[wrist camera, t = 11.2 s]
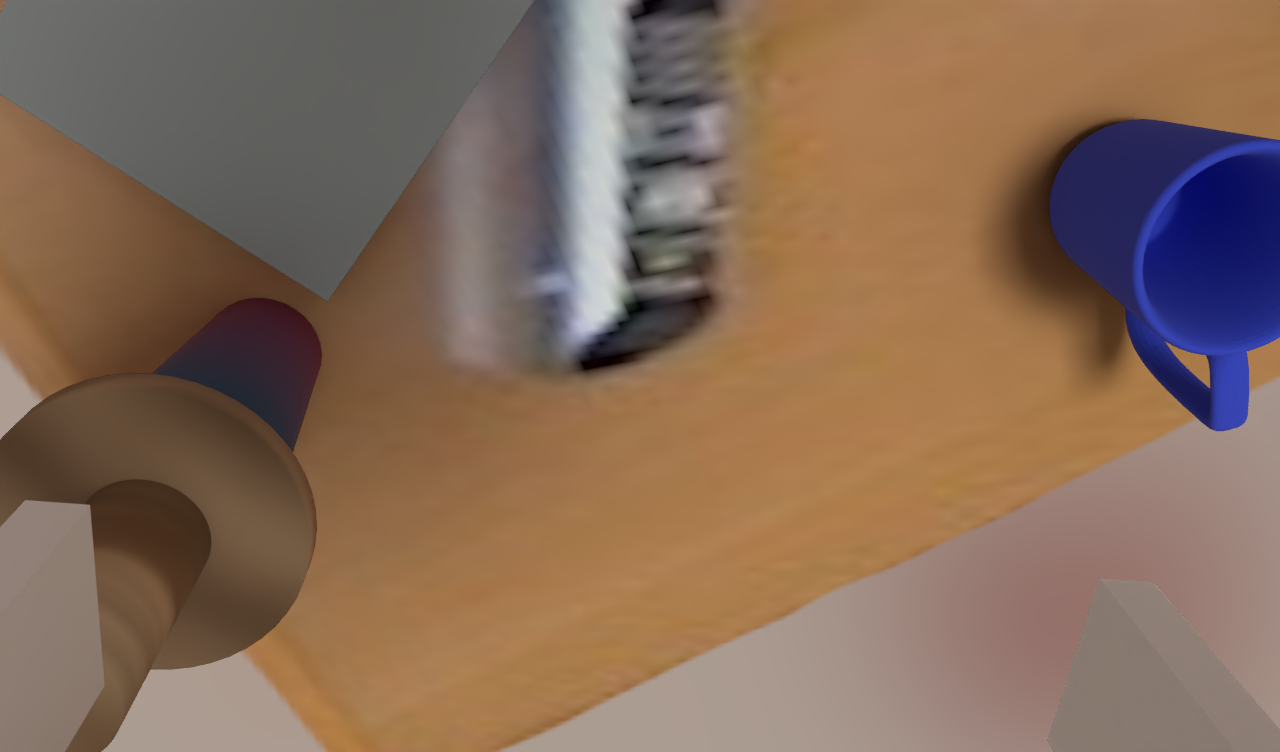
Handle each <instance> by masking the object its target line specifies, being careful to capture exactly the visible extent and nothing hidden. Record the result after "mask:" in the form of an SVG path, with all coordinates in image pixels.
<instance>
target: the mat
mask: <svg viewBox="0 0 1280 752" xmlns="http://www.w3.org/2000/svg"><path fill="white" fill-rule="evenodd" d="M533 1H534V0H7V2H6V4H5V5H4V7H3V9H2V11H1V13H0V95H2V96H4V97H5V98H7V99H8V100H10V101H11V102H13V103H15V104H16V105H18V106H19V107H21V108H23V109H24V110H26V111H27V112H29V113H30V114H32V115H34V116H35V117H37V118H38V119H40V120H41V121H43V122H45V123H46V124H48V125H49V126H51V127H53V128H54V129H56V130H57V131H59V132H60V133H62V134H64V135H65V136H67V137H68V138H70V139H71V140H73V141H75V142H76V143H78V144H79V145H81V146H83V147H84V148H86V149H87V150H89V151H90V152H92V153H94V154H95V155H97V156H98V157H100V158H101V159H103V160H105V161H106V162H108V163H109V164H111V165H113V166H114V167H116V168H117V169H119V170H120V171H122V172H124V173H125V174H127V175H128V176H130V177H131V178H133V179H135V180H136V181H138V182H139V183H141V184H143V185H144V186H146V187H147V188H149V189H150V190H152V191H154V192H155V193H157V194H158V195H160V196H161V197H163V198H165V199H166V200H168V201H169V202H171V203H173V204H174V205H176V206H177V207H179V208H180V209H182V210H184V211H185V212H187V213H188V214H190V215H192V216H193V217H195V218H196V219H198V220H199V221H201V222H203V223H204V224H206V225H207V226H209V227H210V228H212V229H214V230H215V231H217V232H218V233H220V234H222V235H223V236H225V237H226V238H228V239H229V240H231V241H233V242H234V243H236V244H237V245H239V246H240V247H242V248H244V249H245V250H247V251H248V252H250V253H252V254H253V255H255V256H256V257H258V258H259V259H261V260H263V261H264V262H266V263H267V264H269V265H270V266H272V267H274V268H275V269H277V270H278V271H280V272H282V273H283V274H285V275H286V276H288V277H289V278H291V279H293V280H294V281H296V282H297V283H299V284H300V285H302V286H304V287H305V288H307V289H308V290H310V291H312V292H313V293H315V294H316V295H318V296H319V297H321V298H323V299H324V300H326V301H327V302H328V300H329V299H330V297H331V296H332V294H333V293H334V291H335V290H336V289H337V287H338V286H339V284H340V283H341V281H342V280H343V278H344V277H345V275H346V274H347V272H348V271H349V270H350V268H351V267H352V265H353V264H354V262H355V261H356V259H357V258H358V256H359V255H360V254H361V252H362V251H363V249H364V248H365V246H366V245H367V243H368V242H369V240H370V239H371V237H372V236H373V235H374V233H375V232H376V230H377V229H378V227H379V226H380V224H381V223H382V221H383V220H384V219H385V217H386V216H387V214H388V213H389V211H390V210H391V208H392V207H393V205H394V204H395V203H396V201H397V200H398V198H399V197H400V195H401V194H402V192H403V191H404V189H405V188H406V186H407V185H408V184H409V182H410V181H411V179H412V178H413V176H414V175H415V173H416V172H417V170H418V169H419V168H420V166H421V165H422V163H423V162H424V160H425V159H426V157H427V156H428V154H429V153H430V151H431V150H432V149H433V147H434V146H435V144H436V143H437V141H438V140H439V138H440V137H441V135H442V134H443V133H444V131H445V130H446V128H447V127H448V125H449V124H450V122H451V121H452V119H453V118H454V117H455V115H456V114H457V112H458V111H459V109H460V108H461V106H462V105H463V103H464V102H465V100H466V99H467V98H468V96H469V95H470V93H471V92H472V90H473V89H474V87H475V86H476V84H477V83H478V82H479V80H480V79H481V77H482V76H483V74H484V73H485V71H486V70H487V68H488V67H489V66H490V64H491V63H492V61H493V60H494V58H495V57H496V55H497V54H498V52H499V51H500V49H501V48H502V47H503V45H504V44H505V42H506V41H507V39H508V38H509V36H510V35H511V33H512V32H513V31H514V29H515V28H516V26H517V25H518V23H519V22H520V20H521V19H522V17H523V16H524V14H525V13H526V12H527V10H528V9H529V7H530V6H531V4H532V3H533Z"/></svg>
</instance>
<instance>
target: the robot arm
mask: <svg viewBox="0 0 1280 752" xmlns="http://www.w3.org/2000/svg"><path fill="white" fill-rule="evenodd" d="M104 686H105V684H104V672H103V659H102V647H101V635H100V622H99V610H98V597H97V585H96V573H95V560H94V548H93V536H92V523H91V511H90V505H86V504H72V503H59V502H45V501H31V500H25V501H24V502H23V503H22V504H21V505H20V506H19V507H18V508H17V510H16V511H15V512H14V513H13V514H12V515H11V516H10V517H9V518H8V519H7V520H6V521H5V522H4V524H3V525H2V526H1V527H0V752H65V751H66V749H67V747H68V746H69V744H70V742H71V741H72V739H73V737H74V736H75V734H76V732H77V731H78V729H79V727H80V726H81V724H82V723H83V721H84V719H85V718H86V716H87V714H88V713H89V711H90V709H91V708H92V706H93V704H94V703H95V701H96V699H97V698H98V696H99V694H100V693H101V691H102V689H103V688H104ZM1048 742H1049V744H1050V746H1051V747H1052V749H1053V751H1054V752H1280V729H1279V727H1278V726H1277V725H1276V724H1275V723H1274V722H1273V720H1271V718H1270V717H1269V716H1268V715H1267V714H1266V712H1265V711H1264V710H1263V709H1262V708H1261V707H1260V706H1259V704H1258V703H1257V702H1256V701H1255V700H1254V698H1253V697H1252V696H1251V695H1250V694H1249V693H1248V691H1247V690H1246V689H1245V688H1244V687H1243V686H1242V684H1241V683H1240V682H1239V681H1238V680H1237V679H1236V678H1235V676H1234V675H1233V674H1232V673H1231V672H1230V671H1229V669H1228V668H1227V667H1226V666H1225V665H1224V664H1223V662H1222V661H1221V660H1220V659H1219V658H1218V657H1217V656H1216V654H1215V653H1214V652H1213V651H1212V650H1211V649H1210V647H1209V646H1208V645H1207V644H1206V643H1205V642H1204V641H1203V639H1202V638H1201V637H1200V636H1199V635H1198V633H1197V632H1196V631H1195V630H1194V629H1193V628H1192V627H1191V625H1190V624H1189V623H1188V622H1187V621H1186V620H1185V618H1184V617H1183V616H1182V615H1181V614H1180V613H1179V611H1178V610H1177V609H1176V608H1175V607H1174V606H1173V604H1172V603H1171V602H1170V601H1169V600H1168V599H1167V597H1165V595H1164V594H1163V593H1162V592H1161V591H1160V590H1159V588H1158V587H1157V586H1156V585H1155V584H1154V583H1153V582H1141V581H1127V580H1114V579H1100V580H1099V583H1098V586H1097V589H1096V592H1095V595H1094V598H1093V601H1092V604H1091V607H1090V610H1089V614H1088V617H1087V620H1086V623H1085V626H1084V629H1083V632H1082V635H1081V638H1080V641H1079V644H1078V647H1077V651H1076V653H1075V657H1074V660H1073V663H1072V666H1071V669H1070V672H1069V675H1068V678H1067V681H1066V684H1065V687H1064V691H1063V694H1062V697H1061V700H1060V703H1059V706H1058V709H1057V712H1056V715H1055V718H1054V721H1053V724H1052V727H1051V731H1050V734H1049V737H1048Z"/></svg>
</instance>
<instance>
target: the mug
mask: <svg viewBox="0 0 1280 752" xmlns="http://www.w3.org/2000/svg"><path fill="white" fill-rule="evenodd" d="M1049 215H1050V222H1051V226H1052V229H1053V232H1054V235H1055V237H1056V239H1057V241H1058V243H1059V245H1060V246H1061V248H1062V249H1063V251H1064V252H1065V253H1066V255H1067V256H1068V257H1069V258H1070V259H1071V260H1072V261H1073V262H1074V263H1075V264H1077V265H1078V266H1079V267H1080V268H1081V269H1082V270H1083V271H1085V272H1086V273H1087V274H1088V275H1089V276H1090V277H1091V278H1093V279H1094V280H1095V281H1096V282H1097V283H1098V284H1099V285H1101V286H1102V287H1103V288H1104V289H1105V290H1106V291H1107V292H1109V293H1110V294H1111V295H1112V296H1113V297H1114V298H1115V299H1117V300H1118V301H1119V302H1120V303H1121V304H1122V305H1123V306H1125V315H1126V324H1127V329H1128V333H1129V336H1130V339H1131V342H1132V344H1133V346H1134V348H1135V350H1136V352H1137V354H1138V355H1139V357H1140V358H1141V360H1142V362H1143V363H1144V364H1145V366H1146V367H1147V368H1148V369H1149V371H1150V372H1151V373H1152V374H1153V375H1154V377H1155V378H1156V379H1157V380H1158V381H1159V382H1160V383H1161V384H1162V385H1163V386H1164V387H1165V388H1166V390H1167V391H1168V392H1169V393H1171V394H1172V395H1173V396H1174V397H1175V398H1176V399H1177V400H1178V401H1179V402H1180V403H1181V404H1182V405H1183V406H1184V407H1185V408H1186V409H1188V410H1189V411H1190V412H1191V413H1192V414H1193V415H1194V416H1195V417H1196V418H1198V419H1199V420H1200V421H1201V422H1202V423H1203V424H1205V425H1206V426H1207V427H1209V428H1210V429H1212V430H1215V431H1226V430H1230V429H1233V428H1237V427H1239V426H1241V425H1242V424H1243V423H1245V421H1246V419H1247V415H1248V402H1249V366H1248V358H1247V352H1246V351H1250V350H1253V349H1256V348H1258V347H1261V346H1263V345H1266V344H1268V343H1270V342H1272V341H1274V340H1276V339H1277V338H1279V337H1280V140H1275V139H1268V138H1262V137H1256V136H1250V135H1244V134H1238V133H1232V132H1226V131H1219V130H1213V129H1207V128H1201V127H1195V126H1189V125H1183V124H1177V123H1171V122H1164V121H1157V120H1147V119H1139V120H1129V121H1124V122H1119V123H1116V124H1112V125H1109V126H1107V127H1104V128H1102V129H1100V130H1098V131H1096V132H1095V133H1093V134H1091V135H1090V136H1088V137H1087V138H1086V139H1084V140H1083V141H1082V142H1081V143H1079V144H1078V145H1077V146H1076V147H1075V148H1074V149H1073V150H1072V151H1071V153H1070V154H1069V155H1068V156H1067V157H1066V159H1065V160H1064V162H1063V163H1062V165H1061V166H1060V168H1059V170H1058V172H1057V174H1056V177H1055V179H1054V182H1053V185H1052V189H1051V193H1050V200H1049ZM1164 340H1165V341H1166V342H1168V343H1169V344H1171V345H1173V346H1175V347H1177V348H1179V349H1182V350H1185V351H1188V352H1191V353H1196V354H1201V355H1206V356H1207V359H1208V362H1209V368H1210V388H1209V387H1207V386H1206V385H1205V384H1204V383H1203V382H1202V381H1200V380H1199V379H1198V378H1197V377H1196V376H1195V375H1194V374H1193V373H1191V372H1190V371H1189V370H1188V369H1187V368H1186V367H1185V366H1184V365H1183V364H1182V363H1181V362H1180V361H1179V359H1178V358H1177V357H1176V356H1175V355H1174V354H1173V352H1172V351H1171V350H1170V348H1169V347H1168V346H1167V344H1166V342H1165V341H1164Z"/></svg>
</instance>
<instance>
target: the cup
mask: <svg viewBox="0 0 1280 752" xmlns="http://www.w3.org/2000/svg"><path fill="white" fill-rule="evenodd" d="M321 356H322V353H321V346H320V342H319V339H318V336H317V334H316V332H315V330H314V329H313V327H312V325H311V324H310V323H309V322H308V321H307V320H306V318H305V317H304V316H303V315H301V314H300V313H299V312H298V311H296V310H295V309H293V308H291V307H290V306H288V305H286V304H284V303H281V302H278V301H275V300H270V299H263V298H258V299H247V300H243V301H239V302H237V303H234V304H232V305H230V306H228V307H227V308H226V309H224V310H223V311H221V312H220V313H219V314H218V315H217V316H216V317H215V318H213V319H212V320H211V321H210V322H209V323H208V324H207V325H206V326H205V327H203V328H202V329H201V330H200V331H199V332H198V333H197V334H196V335H195V336H193V337H192V338H191V339H190V340H189V341H188V342H187V343H186V344H184V345H183V346H182V347H181V348H180V349H179V350H178V351H177V352H176V353H174V354H173V355H172V356H171V357H170V358H169V359H168V360H167V361H166V362H164V363H163V364H162V365H161V366H160V367H159V368H158V369H157V370H155V371H154V372H153V373H152V374H157V375H164V376H172V377H177V378H181V379H184V380H188V381H192V382H196V383H199V384H201V385H204V386H207V387H209V388H212V389H214V390H217V391H219V392H221V393H223V394H225V395H227V396H229V397H231V398H233V399H234V400H236V401H238V402H240V403H241V404H242V405H244V406H245V407H247V408H248V409H250V410H251V411H253V412H254V413H256V414H257V415H258V416H259V417H260V418H262V419H263V420H264V421H265V422H266V423H267V424H269V425H270V426H271V427H272V428H273V429H274V430H275V431H276V432H277V434H278V435H279V436H280V437H281V438H282V439H283V440H284V441H285V442H286V444H287V445H288V447H289V448H290V449H291V451H292V452H293V450H294V447H295V444H296V441H297V437H298V434H299V431H300V428H301V425H302V422H303V419H304V416H305V413H306V409H307V406H308V403H309V400H310V397H311V394H312V391H313V388H314V385H315V381H316V378H317V375H318V372H319V369H320V366H321Z"/></svg>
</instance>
